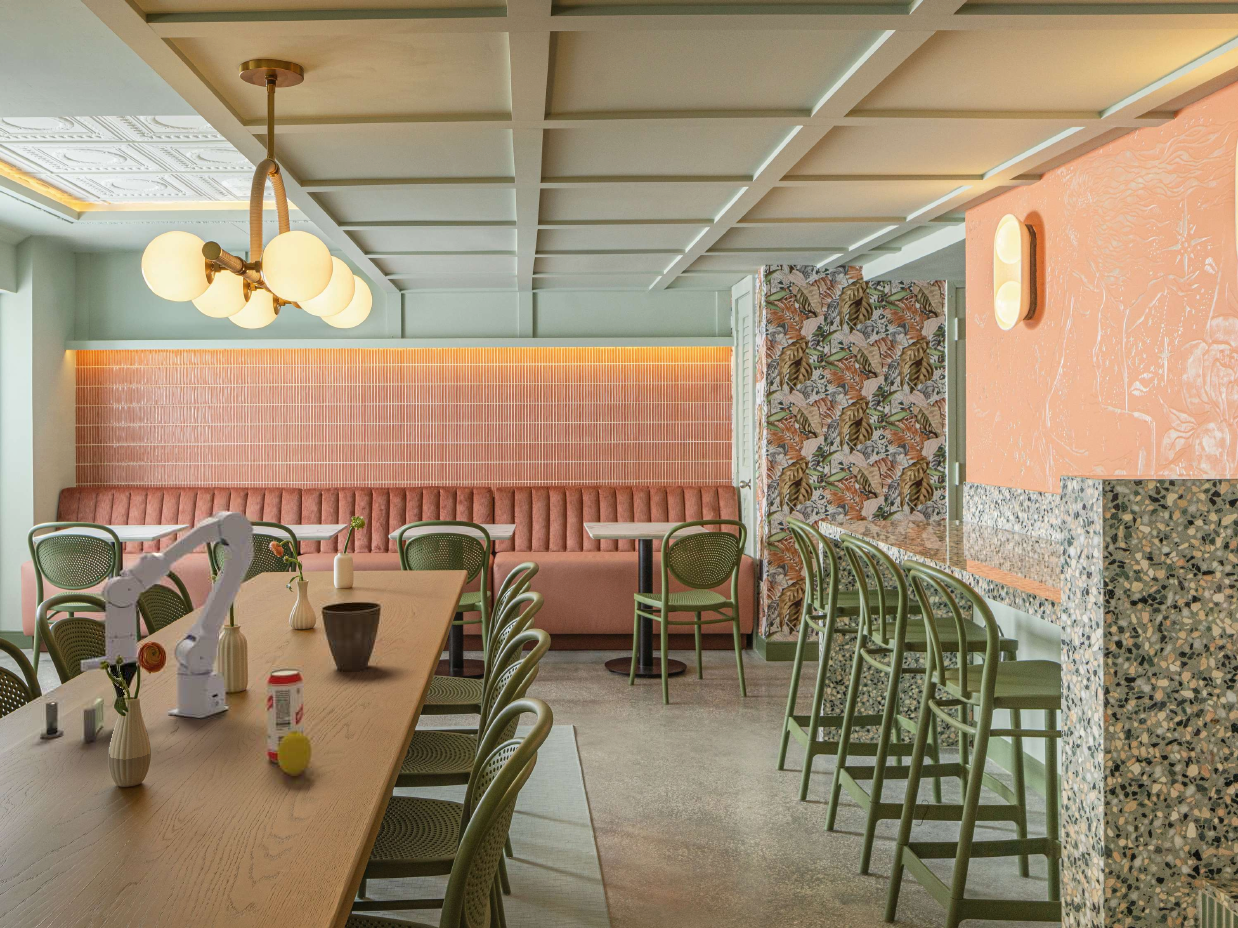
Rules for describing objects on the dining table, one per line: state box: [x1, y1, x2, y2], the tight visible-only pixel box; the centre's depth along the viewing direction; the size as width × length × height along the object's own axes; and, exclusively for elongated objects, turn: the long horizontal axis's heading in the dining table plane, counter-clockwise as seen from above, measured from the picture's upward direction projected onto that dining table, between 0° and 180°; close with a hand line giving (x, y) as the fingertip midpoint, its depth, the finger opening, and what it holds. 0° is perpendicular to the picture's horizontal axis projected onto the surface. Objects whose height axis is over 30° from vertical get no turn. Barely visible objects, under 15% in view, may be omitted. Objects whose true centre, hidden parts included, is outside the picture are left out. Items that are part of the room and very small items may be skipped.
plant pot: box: [320, 601, 382, 672], centre depth 246 cm, size 15×15×16 cm
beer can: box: [266, 668, 305, 764], centre depth 174 cm, size 6×6×16 cm
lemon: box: [278, 730, 312, 777], centre depth 165 cm, size 6×6×8 cm
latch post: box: [39, 701, 65, 740], centre depth 189 cm, size 4×4×6 cm
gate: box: [83, 696, 105, 742], centre depth 190 cm, size 12×2×6 cm, turn 18°
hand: (121, 700), depth 197 cm, fingers closed
